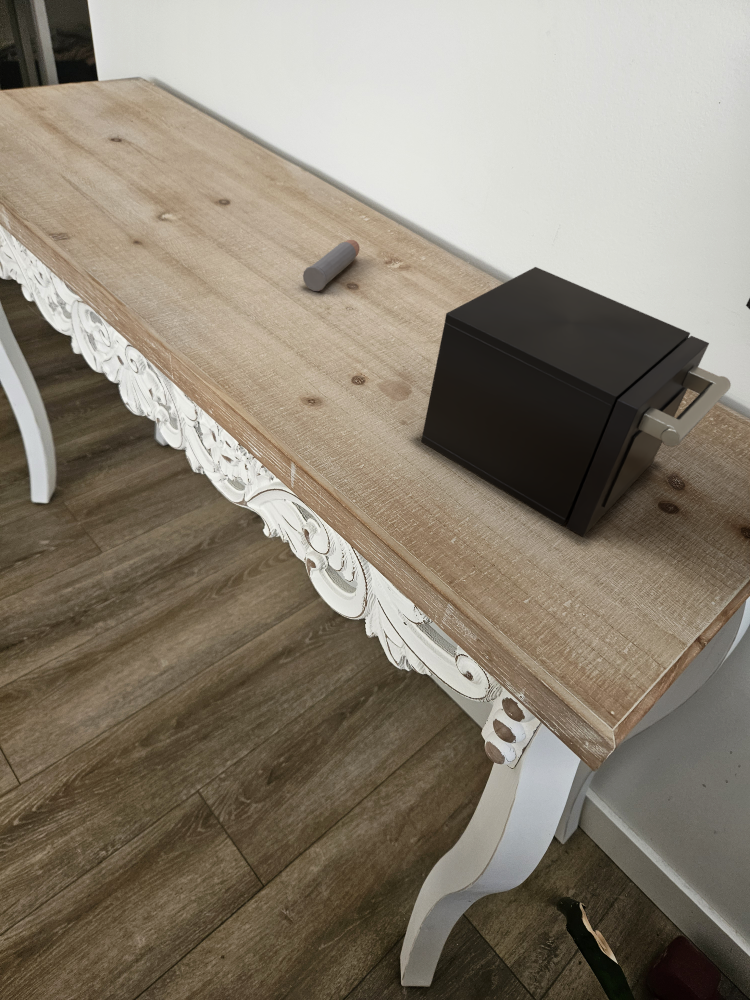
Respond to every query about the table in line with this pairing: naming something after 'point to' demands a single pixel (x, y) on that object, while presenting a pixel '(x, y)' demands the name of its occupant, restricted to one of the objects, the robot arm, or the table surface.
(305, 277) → the bullet cartridge
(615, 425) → the oven door
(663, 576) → the table surface
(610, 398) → the oven
